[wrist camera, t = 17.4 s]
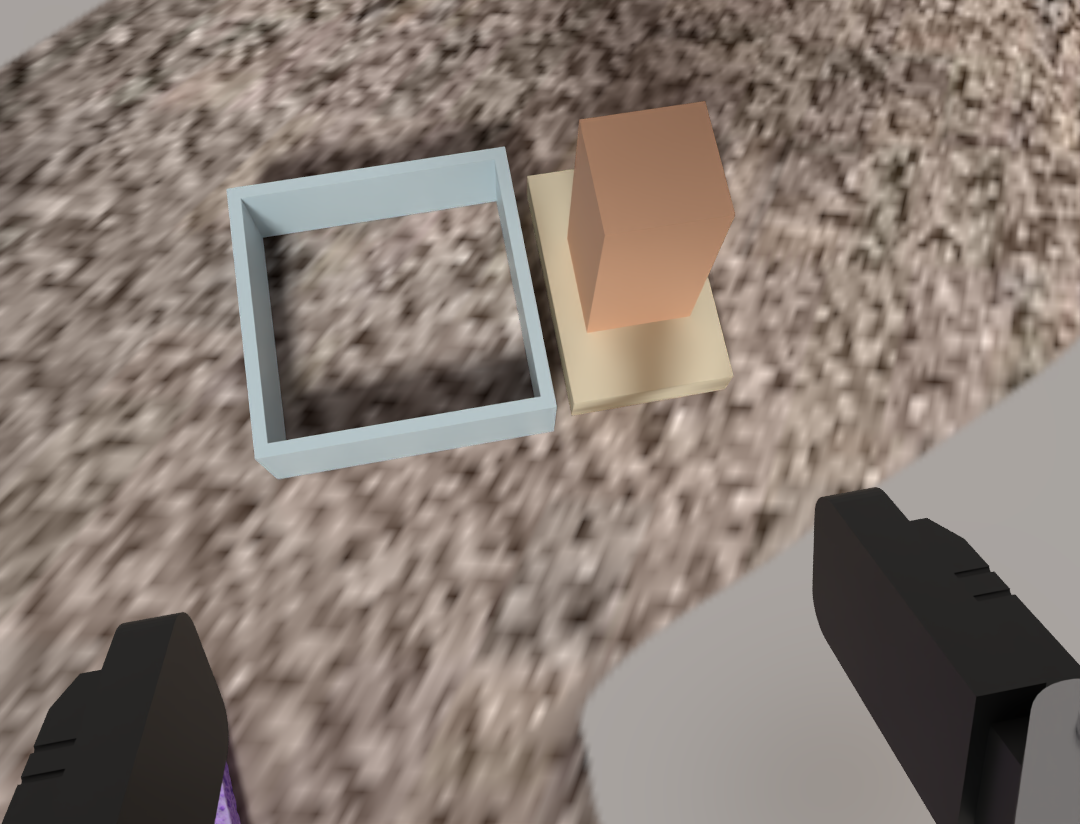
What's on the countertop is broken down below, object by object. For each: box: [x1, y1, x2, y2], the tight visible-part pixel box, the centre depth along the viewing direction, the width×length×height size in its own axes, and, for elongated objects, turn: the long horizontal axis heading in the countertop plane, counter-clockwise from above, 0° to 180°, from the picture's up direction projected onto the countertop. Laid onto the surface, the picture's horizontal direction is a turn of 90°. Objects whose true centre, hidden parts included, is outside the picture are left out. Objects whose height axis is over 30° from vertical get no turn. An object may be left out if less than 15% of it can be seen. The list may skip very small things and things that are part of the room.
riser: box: [527, 169, 733, 416], centre depth 47 cm, size 8×12×2 cm, turn 11°
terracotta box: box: [567, 101, 735, 333], centre depth 41 cm, size 5×5×10 cm
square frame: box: [227, 147, 557, 479], centre depth 45 cm, size 13×13×4 cm
